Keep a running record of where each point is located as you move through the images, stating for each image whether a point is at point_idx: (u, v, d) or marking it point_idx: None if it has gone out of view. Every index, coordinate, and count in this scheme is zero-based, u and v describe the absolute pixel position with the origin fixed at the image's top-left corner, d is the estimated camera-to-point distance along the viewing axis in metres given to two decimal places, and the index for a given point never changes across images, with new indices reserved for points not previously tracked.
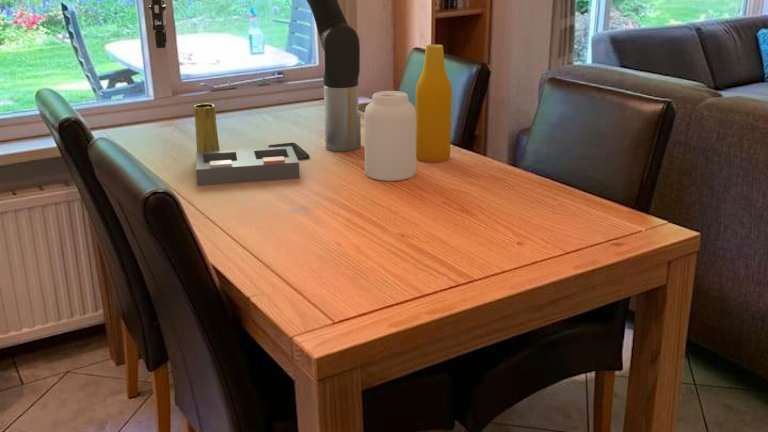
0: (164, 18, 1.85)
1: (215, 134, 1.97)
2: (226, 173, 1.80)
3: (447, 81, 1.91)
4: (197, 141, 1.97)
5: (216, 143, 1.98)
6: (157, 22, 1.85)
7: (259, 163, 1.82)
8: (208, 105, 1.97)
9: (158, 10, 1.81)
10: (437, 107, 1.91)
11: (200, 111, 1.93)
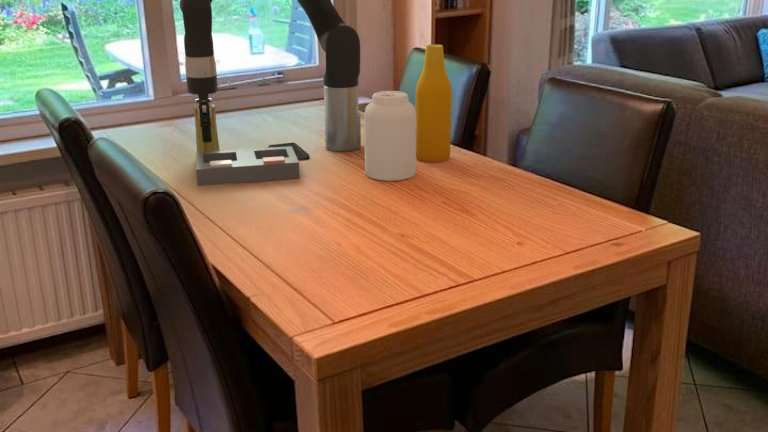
0: (210, 114, 1.93)
1: (215, 134, 1.97)
2: (226, 173, 1.80)
3: (447, 81, 1.91)
4: (197, 141, 1.97)
5: (216, 143, 1.98)
6: None
7: (259, 163, 1.82)
8: None
9: (206, 110, 1.89)
10: (437, 107, 1.91)
11: None
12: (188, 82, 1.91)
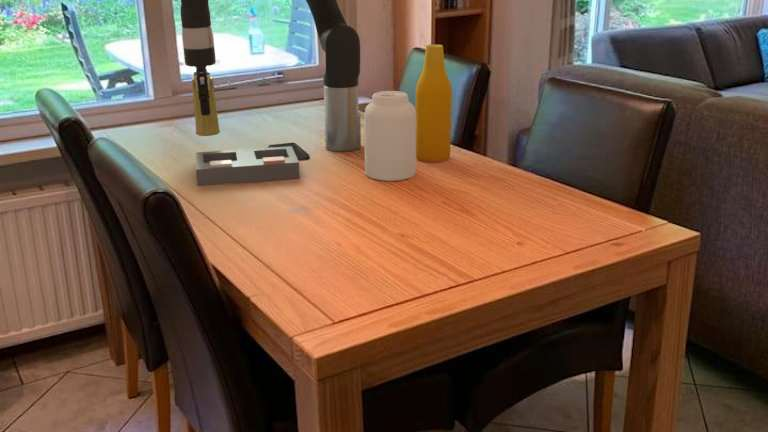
0: (208, 86, 1.91)
1: (214, 107, 1.95)
2: (226, 173, 1.80)
3: (447, 81, 1.91)
4: (196, 114, 1.94)
5: (215, 116, 1.95)
6: None
7: (259, 163, 1.82)
8: None
9: (204, 82, 1.87)
10: (437, 107, 1.91)
11: None
12: (185, 54, 1.88)
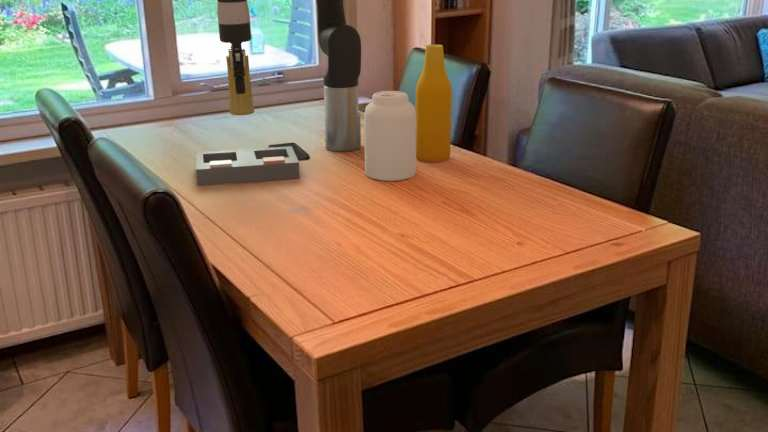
0: (244, 63, 1.84)
1: (248, 85, 1.88)
2: (226, 173, 1.80)
3: (447, 81, 1.91)
4: (230, 93, 1.88)
5: (250, 95, 1.88)
6: (237, 68, 1.84)
7: (259, 163, 1.82)
8: None
9: (239, 59, 1.80)
10: (437, 107, 1.91)
11: None
12: (220, 29, 1.81)
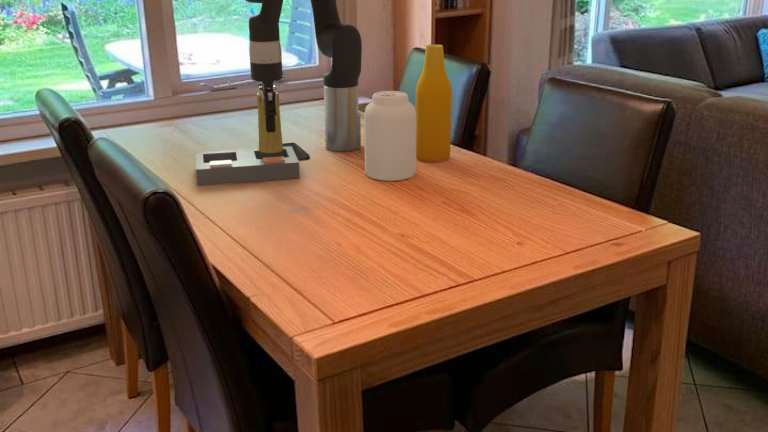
0: None
1: (278, 124, 1.87)
2: (226, 173, 1.80)
3: (447, 81, 1.91)
4: (259, 131, 1.87)
5: (279, 133, 1.87)
6: None
7: (259, 163, 1.82)
8: None
9: (272, 98, 1.79)
10: (437, 107, 1.91)
11: (264, 99, 1.83)
12: (252, 68, 1.80)
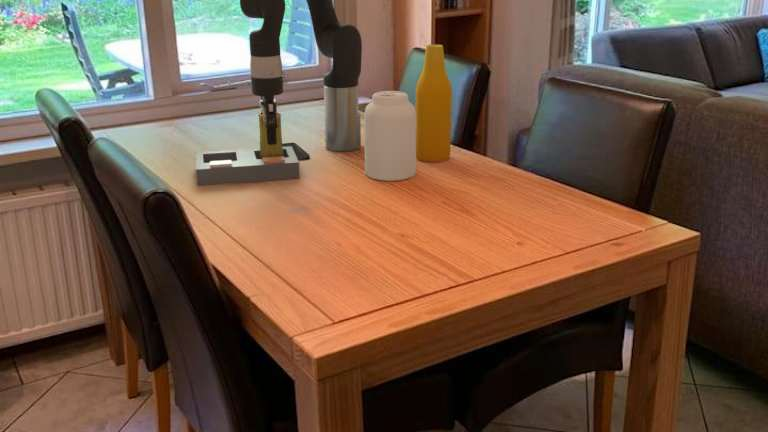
0: None
1: (280, 143, 1.88)
2: (226, 173, 1.80)
3: (447, 81, 1.91)
4: (261, 150, 1.88)
5: (281, 152, 1.89)
6: (269, 119, 1.83)
7: (259, 163, 1.82)
8: None
9: (272, 109, 1.80)
10: (437, 107, 1.91)
11: None
12: (253, 83, 1.82)
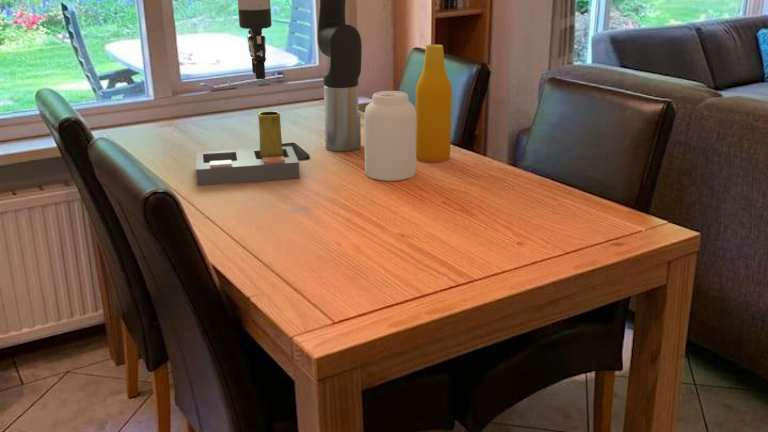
0: (264, 48, 1.80)
1: (280, 143, 1.88)
2: (226, 173, 1.80)
3: (447, 81, 1.91)
4: (261, 150, 1.88)
5: (281, 152, 1.89)
6: (257, 53, 1.80)
7: (259, 163, 1.82)
8: (272, 113, 1.89)
9: (260, 41, 1.76)
10: (437, 107, 1.91)
11: (265, 119, 1.85)
12: (241, 15, 1.78)
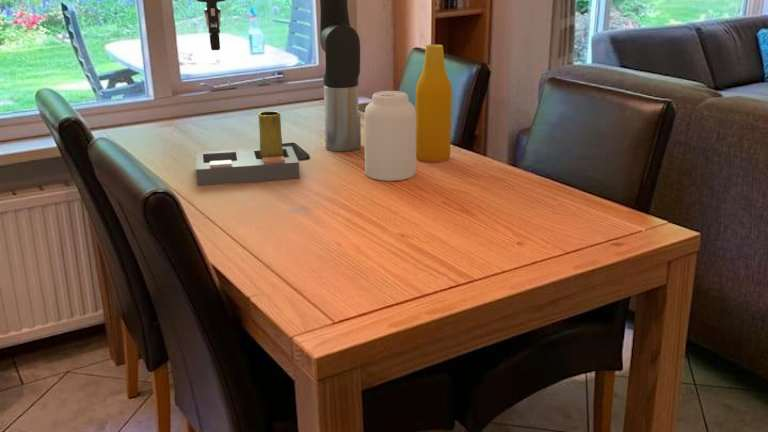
0: (219, 21, 1.89)
1: (280, 143, 1.88)
2: (226, 173, 1.80)
3: (447, 81, 1.91)
4: (261, 150, 1.88)
5: (281, 152, 1.89)
6: (212, 25, 1.89)
7: (259, 163, 1.82)
8: (272, 113, 1.89)
9: (214, 13, 1.85)
10: (437, 107, 1.91)
11: (265, 119, 1.85)
12: None
